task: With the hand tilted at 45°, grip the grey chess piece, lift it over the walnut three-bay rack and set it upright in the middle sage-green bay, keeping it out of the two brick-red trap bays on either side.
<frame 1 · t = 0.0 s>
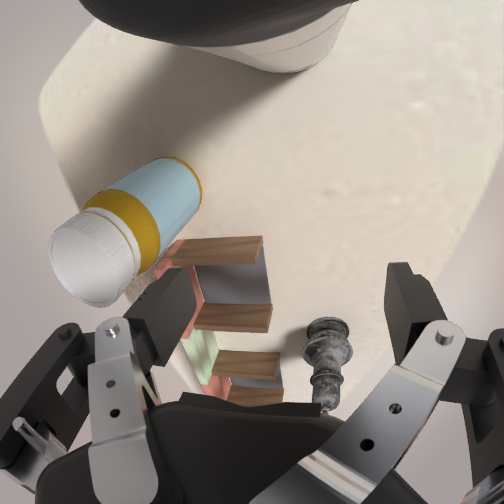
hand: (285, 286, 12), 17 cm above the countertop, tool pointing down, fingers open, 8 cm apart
bay rack: (241, 331, 38), on the countertop
bottle: (173, 187, 30), on the countertop
grey chess piece: (328, 331, 36), on the countertop
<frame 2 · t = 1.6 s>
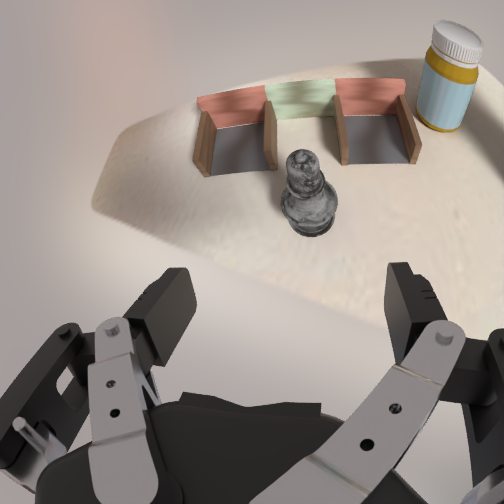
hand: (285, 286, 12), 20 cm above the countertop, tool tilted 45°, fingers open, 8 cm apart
bay rack: (307, 139, 37), on the countertop
bottle: (437, 117, 33), on the countertop
grey chess piece: (311, 215, 34), on the countertop
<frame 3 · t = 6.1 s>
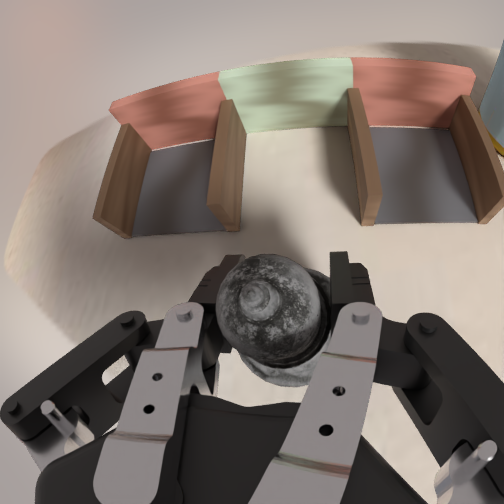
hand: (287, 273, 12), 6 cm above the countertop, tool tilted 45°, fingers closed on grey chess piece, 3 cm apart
bay rack: (298, 169, 21), on the countertop
grey chess piece: (299, 331, 17), on the countertop, touching gripper
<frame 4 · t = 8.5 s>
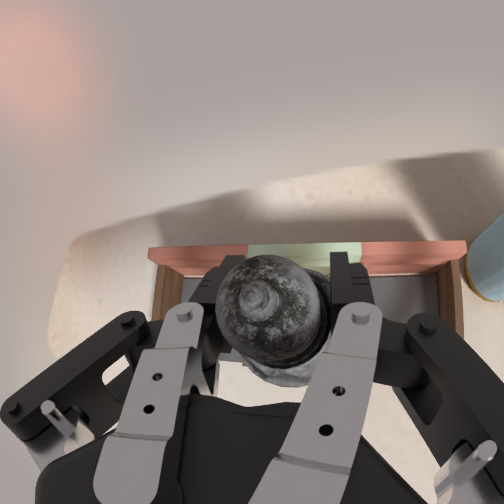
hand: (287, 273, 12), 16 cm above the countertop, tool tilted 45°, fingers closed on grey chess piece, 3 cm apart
bay rack: (307, 317, 27), on the countertop
bottle: (488, 270, 24), on the countertop
grey chess piece: (299, 331, 17), point 10 cm above the countertop, touching gripper
when the fingers open (7 cm above the countertop, at t = 10.9 s): grey chess piece drops 1 cm, on the countertop.
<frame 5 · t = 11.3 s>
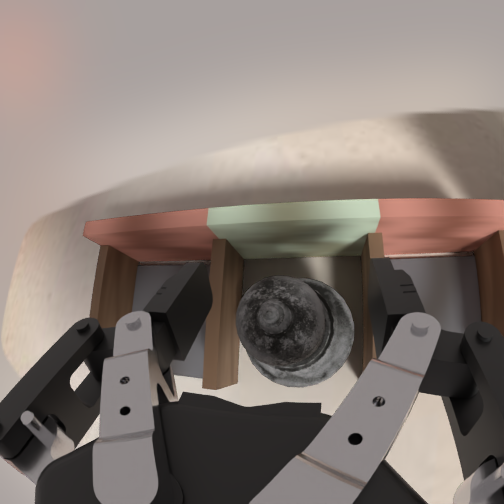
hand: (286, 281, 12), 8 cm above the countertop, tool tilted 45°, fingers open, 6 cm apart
bay rack: (301, 317, 19), on the countertop
grey chess piece: (303, 335, 19), on the countertop
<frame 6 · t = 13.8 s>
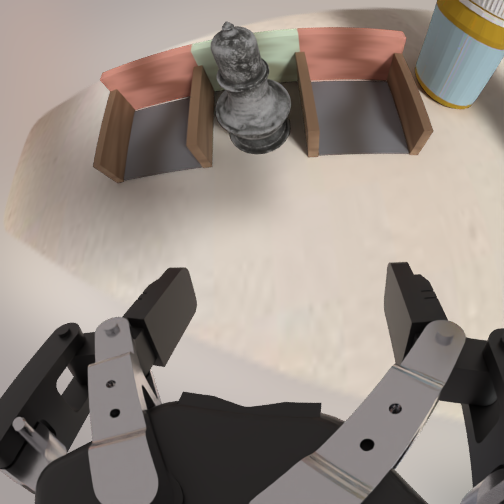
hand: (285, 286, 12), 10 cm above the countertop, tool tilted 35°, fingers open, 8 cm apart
bay rack: (257, 117, 25), on the countertop
bottle: (443, 86, 22), on the countertop
grey chess piece: (259, 129, 25), on the countertop
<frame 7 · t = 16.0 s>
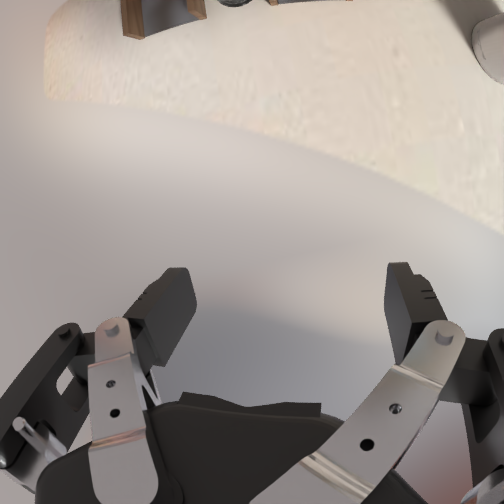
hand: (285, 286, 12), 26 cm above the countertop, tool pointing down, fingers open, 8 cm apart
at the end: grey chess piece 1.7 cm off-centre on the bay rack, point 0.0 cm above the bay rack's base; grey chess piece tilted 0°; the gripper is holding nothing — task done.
